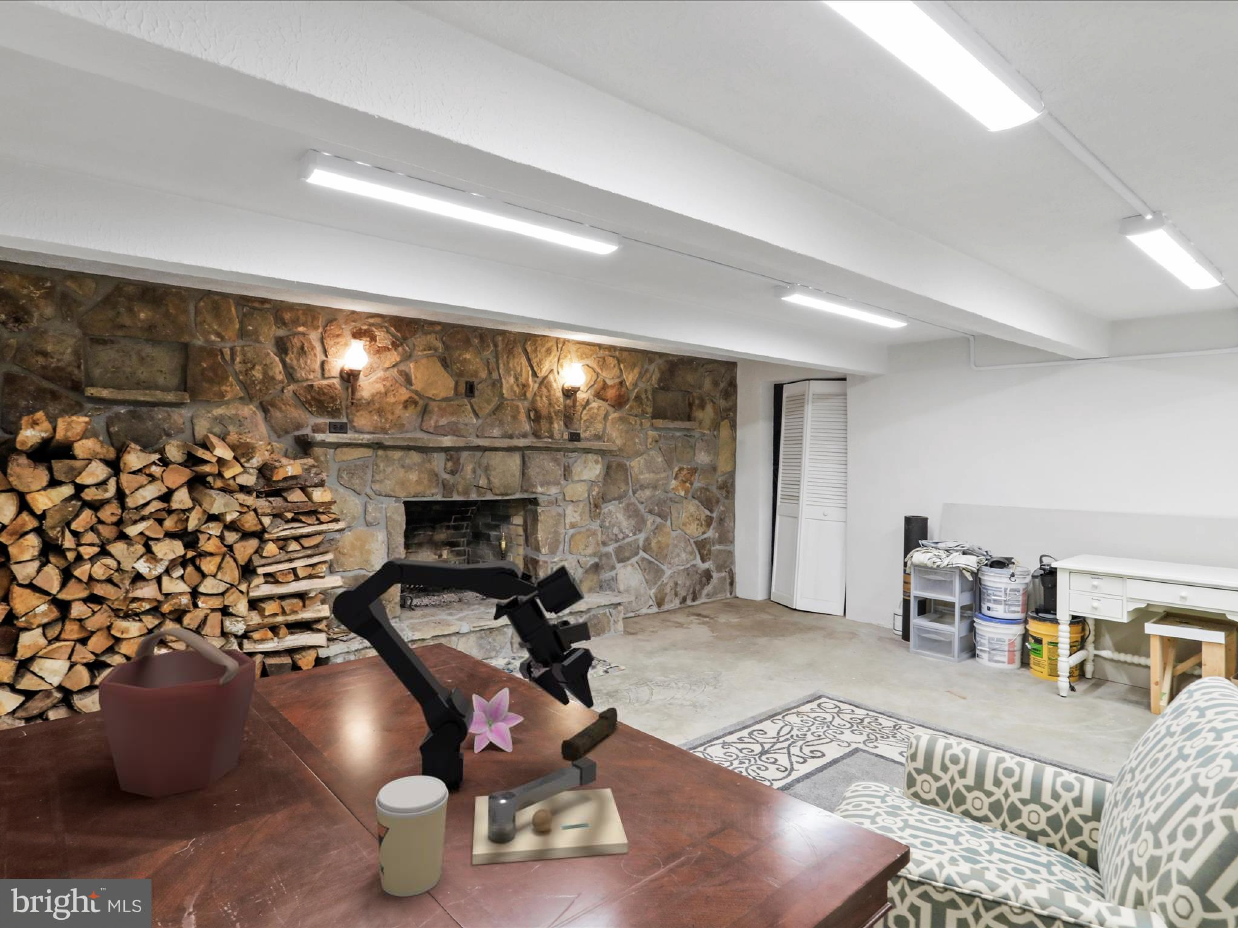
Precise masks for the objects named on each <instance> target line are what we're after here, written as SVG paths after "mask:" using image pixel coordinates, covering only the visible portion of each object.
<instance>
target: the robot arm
mask: <svg viewBox="0 0 1238 928" xmlns="http://www.w3.org/2000/svg"><path fill="white" fill-rule="evenodd" d="M398 584H399V585H407V586H408V585H411V586H422V587H433V588H434V587H435V588H445V589H446V588H448V589H461V590H466V591H470V592H472V593H475V594H477V595H480V596H482V597H487V598H491V599H495V600H498V601H496V604H495V612H494V615H493V618H492V619H493V621H498V620H499V619H501V618H503V617H504V616H506V618H507V620H508V621H509V623H510V625H511V627H512V629H513V630H514V632H515V633H516V635H517V637H518V639H519V642H517V644H518V646H519V647H520V649H525V650H526V652H527V654H528V656H527V657H526V658H525V659H523V660H522V661H520V663H519V667H518V671H519V673H520V674H521V676H522V678H523V680H527V681H528V682H529V683H531V684H532V685H534V686H535V687H537V688H538V689H540V690H542V691H543V692H544V693H545V694H547V695H549V696H551V697H552V698H553V699H554V700H556V701H558V703H560V704H562V705H563V706H567V705H569V704H570V703H571V701H570V698H569V695H568V693H570V694H571V695H572V696H573V697H574V698H575V699H577V701H578V702H579V703H581V704H582V705H583V706H585V708H587V709H589V710H590V709H592V708H593V707H594V705H595V704H594V703H595V702H594V699H593V698H594V697H593V695H592V690H591V687H590V681H589V676H588V675H589V671H590V668H591V667H592V666H593V662H594V661H595V657H594V655H593V653H592V652H591V650H590V648H586V647H573V646H572V645H574V644H576V643H580V642H584V641H585V642H588V641H591V640H592V637H591V632H590V627H589V622H588V621H579V622H575V623H571V622H570V621H569V620H568V619H562V620H559V621H556V623H555V622H552V623H551V622H550V621H549V619H548V617H547V616H546V614H545V612H546V613H547V614H552V613H554V615H558V614H560V613H562V612H563V611H565V610H567V609H569V608H570V607H571V608H572V606H574V605H576V604H577V603H579V602H581V601H582V600H584V599H585V598H586V597H585V593H584V592H583V589H582V587H581V585H580V584H579V582H578V580H577V579H576V577H574V576H573V575H572V573H571V572H570V571H569V570H568V568H567V567H566V564H561V565H559V566H558V567H556V569H555V570H553V571H551V572H549V573H548V574H546V575H545V576H543V577H542V578H540V577H539V576H537V575H536V576H535V575H533V574H531V573H528V572H526V571H523V570H522V568H521V567H520V566H519V564H518V563H516V562H515V561H513V560H509V559H503V560H494V561H493V560H491V561H486V562H479V563H469V564H466V563H455V562H441V561H430V560H429V561H428V560H419V559H418V560H416V559H405V558H403V557H399V556H398V557H393V558H391V559H389V560H387V561H386V562H384V563H383V564H382V565H381V566H380V568H379V569H378V570H377V571H376V572H374V573H373V574H372V575H370V576H369V577H368V578H367V579H366V580H364V581H363V582H358V583H354V584H353V585H351V586H349V587H347V588H346V589H344V590H342V591H341V592H340V593H338V594H337V595H336V597H334V600H333V602H332V606H331V607H332V608H331V612H332V615H333V617H334V619H335V620H336V621H337V622H339V623H340V624H341V625H342V626H343V627H344V628H346V629H347V630H348V631H349V632H350V633H352V634H354V635H355V636H357V637H360V638H361V639H363V640H365V641H366V642H367V643H369V644H370V646H371V647H372V648H373V650H374V651H375V652H376V653H377V654H378V655H379V657H380V658H381V659H382V661H384V663H385V664H386V665H387V667H388V668H389V669H390V670H391V671H392V673H393V674H394V675H395V676H396V678H397V679H398V680H399V681H400V682H401V684H402V686H404V687H405V688H406V690H407V692H409V694H410V695H411V696H412V697H413V699H414V700H416V702H417V703H418V704H419V706H420V708H421V711H422V713H423V718H424V719H425V723H426V726H427V728H428V730H427V732H426V734H425V736H424V738H423V740H422V742H421V744H420V745H419V748H418V749H419V753H420V755H421V776H430V777H434V778H437V779H439V780H441V781H442V782H443V783H444V784H445V786H446V788H447V790H448V793H450V792H451V793H453V792H454V793H455V792H459V791H460V790H461V784H462V783H463V782H464V777H465V775H464V774H465V753H464V752H461V751H462V749H461V748H462V744H463V743H464V741H465V740H466V738H467V737H468V734H469V733H470V732H469V729H470V727H471V724H472V722H473V714H474V713H473V712H474V710H473V708H472V705H473V700H472V701H471V700H470V699H468V698H467V697H466V696H465V694H464V693H463V691H462V690H461V688H460V687H459V685H456V686H455V687H454V688H453V689H452V690H450V689H448V688H446V687H445V686H444V685H442V684H441V683H440V682H439V681H438V679H437V678H436V677H435V676H434V675H433V673H432V672H431V671H430V670H429V668H428V667H427V666H426V665H425V664H424V662H423V661H422V660H421V659H420V657H418V655H417V654H416V653H415V651H414V650H413V649H412V648H411V647H410V644H408V643H407V641H406V640H405V639H404V638H403V637H402V636H401V634H400V633H399V632H398V631H397V629H396V628H395V627H394V625H392V623H391V621H390V618H389V616H388V613H387V609H386V606H385V604H384V602H383V600H382V599H381V597H382V596H383V595H384V594H385V593H387V592H388V591H389V590H391V589H392V588H393V587H394V586H395V585H398ZM537 599H538V600H539V602H540V603H539V602H538V600H537ZM503 601H506V602H503ZM541 606H542V607H541ZM543 609H544V610H543ZM544 611H545V612H544ZM567 692H568V693H567Z"/></svg>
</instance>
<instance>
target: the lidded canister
mask: <svg viewBox="0 0 1238 928" xmlns="http://www.w3.org/2000/svg"><path fill="white" fill-rule="evenodd" d="M448 800H449V792H448V790H447V788H446V786H445V784H444V783H443V782H442V781H441V780H439V779H437V778H434V777H430V776H422V775H412V776H411V775H410V776H405V777H401V778H398V779H395V780H392V781H390V782H388V783H387V784H385V785H384V786H383V787H381V789H380V790H379V792H378V794H377V796H376V798H375V808H376V818H377V819H376V821H377V836H378V838H377V839H378V855H379V871H380V872H379V873H380V883H381V887H382V889H383V890H384V891H385V892H386V893H387V894H389V895H392V896H396V897H405V898H406V897H413V896H417V895H421V894H423V893H426V892H428V891H430V890H431V889H432V888H434V887H435V886H436V885H437V884H438V883H439V881H440V878H441V873H442V865H443V864H442V863H443V854H444V853H443V852H444V843H445V830H446V818H447V806H448V805H447V803H448Z"/></svg>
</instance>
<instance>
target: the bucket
mask: <svg viewBox="0 0 1238 928" xmlns="http://www.w3.org/2000/svg"><path fill="white" fill-rule="evenodd" d="M165 636H169V637H173V638H174V639H177V640H178V641H181V642H183V643H184V644H186V645H187V646H188V647H189V648H190V649H176V650H175V649H174V650H172V651H167V652H163V653H157V654H155V653H154V650H155V649H156V646H157V644H158V643H159V642H160V640H161V639H162V638H164V637H165ZM134 658H135V659H132V660H129V661H124V662H120V663H117V664H116V665H115V666H114V667H112V669H111V670H110V671H109V672H108V673H107V674H106V675H105V676H104V677H103V678H102V679H101V680H100V681H99V682H98V705H99V709H100V714H101V717H102V720H103V724H104V728H105V731H106V736H107V737H106V738H107V740H108V744H109V748H110V753H111V756H112V760H113V764H114V768H115V771H116V772H115V773H116V775H117V776H116V777H117V780H118V784H119V787H120V790H121V791H122V792H127V793H132V794H137V795H141V796H144V797H150V798H154V799H156V798H162V797H166V796H171V795H176V794H180V793H184V792H189V791H194V790H198V789H203V788H208V787H210V786H211V785H213V784H214V783H216V782H217V781H218V780H219V779H221V778H222V777H223V776H225V775H226V774H227V773H228V772H230V771H231V770H233V769H234V768H236V767H237V763H238V759H239V756H240V755H239V754H240V751H241V746H242V741H243V737H244V732H245V727H246V723H247V719H248V714H249V711H250V705H251V702H252V695H253V692H254V687H255V683H256V679H257V661H256V660H255V659H253V658H251V657H250V656H249V655H247V654H245V653H243V652H242V651H240V650H238V649H236V648H218V647H217V645H215V644H213V643H212V642H210V641H209V640H206V639H205V638H203V637H202V636H200V635H199V634H197V633H196V632H195V633H194V632H193V631H191V630H189V629H185V628H183V627H180V628H179V627H171V628H167V629H162V630H158V631H156V632H153V633H150V634H148V635H147V636H145V637H143V639H141V640H140V642H139V644H138V645H137V648H136V649H135V652H134Z"/></svg>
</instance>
